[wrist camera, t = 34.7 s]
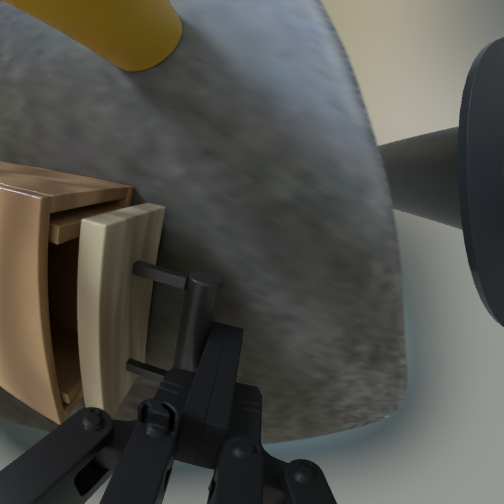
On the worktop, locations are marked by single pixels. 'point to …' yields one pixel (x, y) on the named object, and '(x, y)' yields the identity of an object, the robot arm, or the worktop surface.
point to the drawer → (116, 301)
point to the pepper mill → (114, 27)
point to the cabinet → (36, 276)
